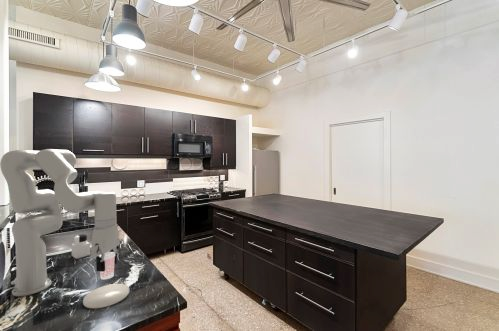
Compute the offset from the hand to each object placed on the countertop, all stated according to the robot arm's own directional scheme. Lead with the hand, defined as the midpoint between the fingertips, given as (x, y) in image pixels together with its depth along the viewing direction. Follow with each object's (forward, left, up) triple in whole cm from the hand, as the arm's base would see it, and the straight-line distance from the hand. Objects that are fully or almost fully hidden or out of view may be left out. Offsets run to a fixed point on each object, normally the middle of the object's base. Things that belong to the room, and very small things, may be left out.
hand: (107, 266), depth 95 cm
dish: (0, 0, -12) cm, 12 cm away
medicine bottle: (-45, +38, -13) cm, 60 cm away
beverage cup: (0, 0, -4) cm, 4 cm away
